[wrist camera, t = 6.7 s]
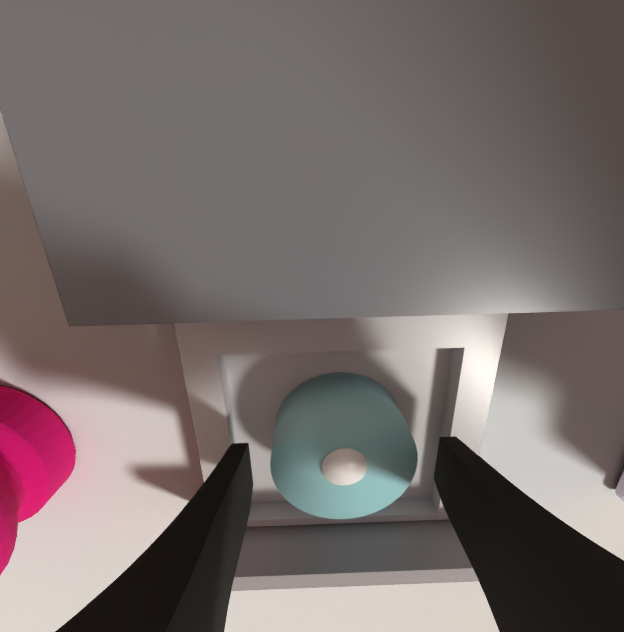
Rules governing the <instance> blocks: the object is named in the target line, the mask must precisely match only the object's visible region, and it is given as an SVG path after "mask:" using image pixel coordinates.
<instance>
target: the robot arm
mask: <svg viewBox="0 0 624 632" xmlns="http://www.w3.org/2000/svg"><path fill="white" fill-rule="evenodd" d="M434 481H435V484H436V487H437V490H438V493H439V496H440V498H441V501H442V504H443V507H444V509H445V511H446V513H447V515H448V518H449V520H450V522H451V524H452V526H453V528H454V530H455V532H456V534H457V536H458V538H459V540H460V543H461V545H462V547H463V549H464V551H465V553H466V555H467V557H468V559H469V561H470V563H471V565H472V567H473V569H474V571H475V574H476V576H477V578H478V580H479V582H480V584H481V587H482V589H483V591H484V593H485V596H486V598H487V601H488V603H489V606H490V608H491V611H492V613H493V616H494V618H495V621H496V624H497V626H498V629H499V631H500V632H624V561H623V560H622V559H620V558H618V557H617V556H615V555H614V554H612V553H610V552H609V551H607V550H605V549H604V548H602V547H600V546H599V545H597V544H596V543H594V542H593V541H591V540H590V539H588V538H586V537H585V536H583V535H582V534H580V533H579V532H577V531H576V530H575V529H573V528H572V527H570V526H569V525H567V524H566V523H564V522H563V521H561V520H560V519H558V518H557V517H556V516H554V515H553V514H551V513H550V512H549V511H547V510H546V509H544V508H543V507H542V506H540V505H539V504H538V503H536V502H535V501H534V500H533V499H531V498H530V497H529V496H527V495H526V494H525V493H523V492H522V491H521V490H519V489H518V488H517V487H516V486H514V485H513V484H512V483H511V482H509V481H508V480H507V479H506V478H505V477H503V476H502V475H501V474H500V473H498V472H497V471H496V470H495V469H494V468H493V467H491V466H490V465H489V464H488V463H487V462H485V461H484V460H483V459H482V458H481V457H480V456H478V455H477V454H476V453H475V452H474V451H473V450H471V449H470V448H469V447H468V446H467V445H466V444H464V443H463V442H462V441H461V440H460V439H458V438H457V437H456V436H452V437H440V438H439V445H438V452H437V459H436V465H435V472H434ZM252 491H253V476H252V468H251V460H250V451H249V443H232V444H231V445H230V446H229V448H228V449H227V451H226V452H225V454H224V455H223V457H222V458H221V460H220V461H219V463H218V464H217V465H216V467H215V468H214V470H213V471H212V472H211V474H210V475H209V477H208V478H207V479H206V481H205V482H204V483H203V485H202V486H201V487H200V489H199V490H198V491H197V493H196V494H195V495H194V496H193V498H192V499H191V500H190V501H189V502H188V504H187V505H186V506H185V507H184V509H183V510H182V511H181V512H180V513H179V515H178V516H177V517H176V518H175V519H174V520H173V522H172V523H171V524H170V525H169V526H168V527H167V528H166V530H165V531H164V532H163V533H162V534H161V535H160V536H159V537H158V538H157V539H156V540H155V541H154V542H153V543H152V545H151V546H150V547H149V548H148V549H147V550H146V551H145V552H144V553H143V554H142V555H141V556H140V557H139V558H138V559H137V560H136V561H135V562H134V563H133V564H132V565H131V566H130V567H129V568H128V569H127V570H125V571H124V572H123V573H122V574H121V575H120V576H119V577H118V578H117V579H116V580H115V581H114V582H113V583H112V584H110V585H109V586H108V587H107V588H106V589H105V590H104V591H103V592H101V593H100V594H99V595H98V596H97V597H96V598H95V599H93V600H92V601H91V602H90V603H89V604H88V605H87V606H85V607H84V608H83V609H82V610H81V611H80V612H79V613H77V614H76V615H75V616H74V617H73V618H72V619H70V620H69V621H68V622H67V623H66V624H64V625H63V626H62V627H61V628H59V629H58V630H57V631H56V632H224V628H225V622H226V616H227V609H228V604H229V599H230V594H231V589H232V585H233V581H234V576H235V572H236V568H237V564H238V560H239V556H240V552H241V547H242V543H243V539H244V535H245V531H246V526H247V522H248V518H249V513H250V506H251V499H252ZM616 495H617V496H618V497H620V498H621V499H622V500H623V501H624V471H623V473H622V476H621V478H620V480H619V483H618V485H617V488H616Z"/></svg>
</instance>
